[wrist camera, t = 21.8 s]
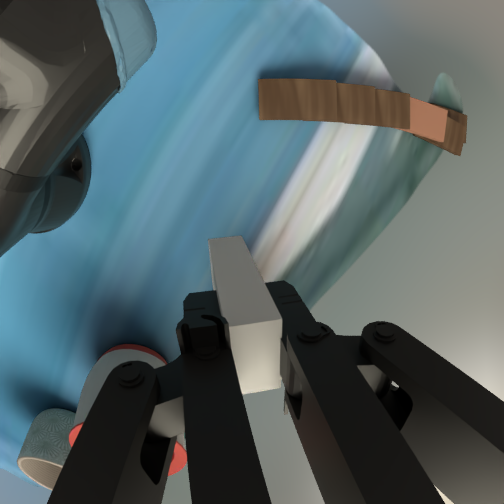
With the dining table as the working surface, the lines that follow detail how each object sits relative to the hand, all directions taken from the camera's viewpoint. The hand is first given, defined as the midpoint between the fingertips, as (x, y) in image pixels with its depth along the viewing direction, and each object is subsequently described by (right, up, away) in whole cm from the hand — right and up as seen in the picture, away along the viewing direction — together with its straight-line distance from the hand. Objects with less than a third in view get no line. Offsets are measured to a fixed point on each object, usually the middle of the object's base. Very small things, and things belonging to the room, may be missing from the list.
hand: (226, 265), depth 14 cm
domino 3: (+13, +19, +21) cm, 31 cm away
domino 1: (+2, +18, +19) cm, 27 cm away
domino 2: (+7, +19, +20) cm, 28 cm away
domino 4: (+20, +20, +22) cm, 36 cm away
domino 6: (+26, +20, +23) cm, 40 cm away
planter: (-37, -35, +34) cm, 61 cm away
